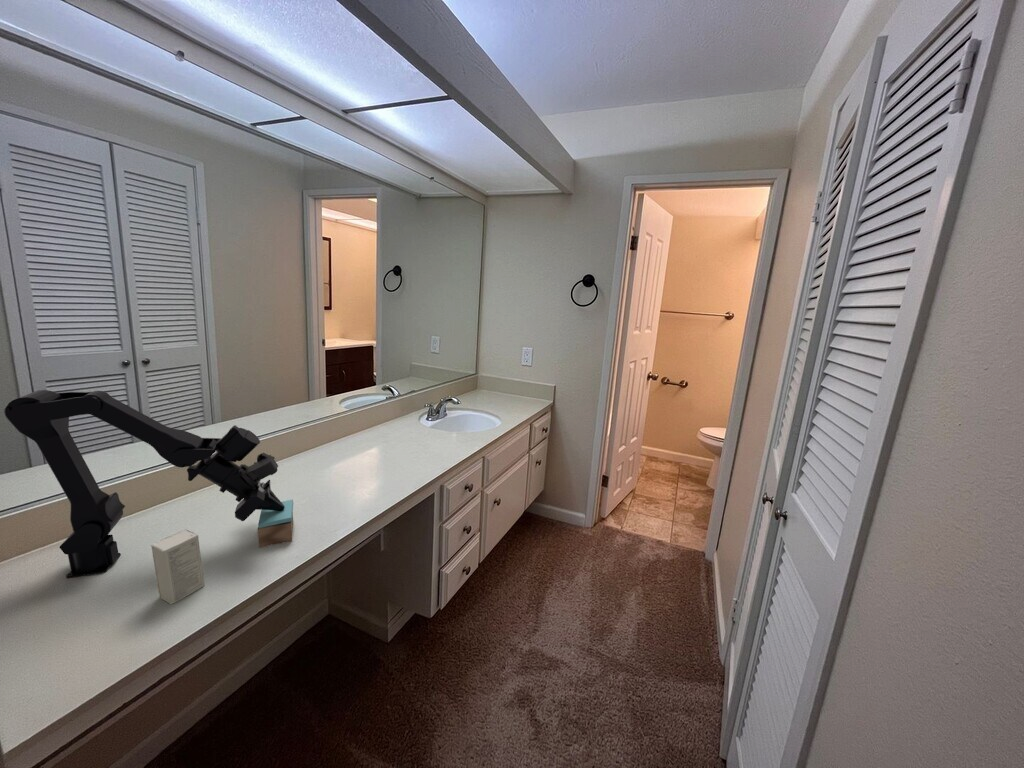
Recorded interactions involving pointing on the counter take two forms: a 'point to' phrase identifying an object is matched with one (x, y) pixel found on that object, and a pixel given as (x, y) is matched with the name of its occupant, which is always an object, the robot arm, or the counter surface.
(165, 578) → the skincare box
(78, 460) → the robot arm
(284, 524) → the case
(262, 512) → the lid
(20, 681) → the counter surface
